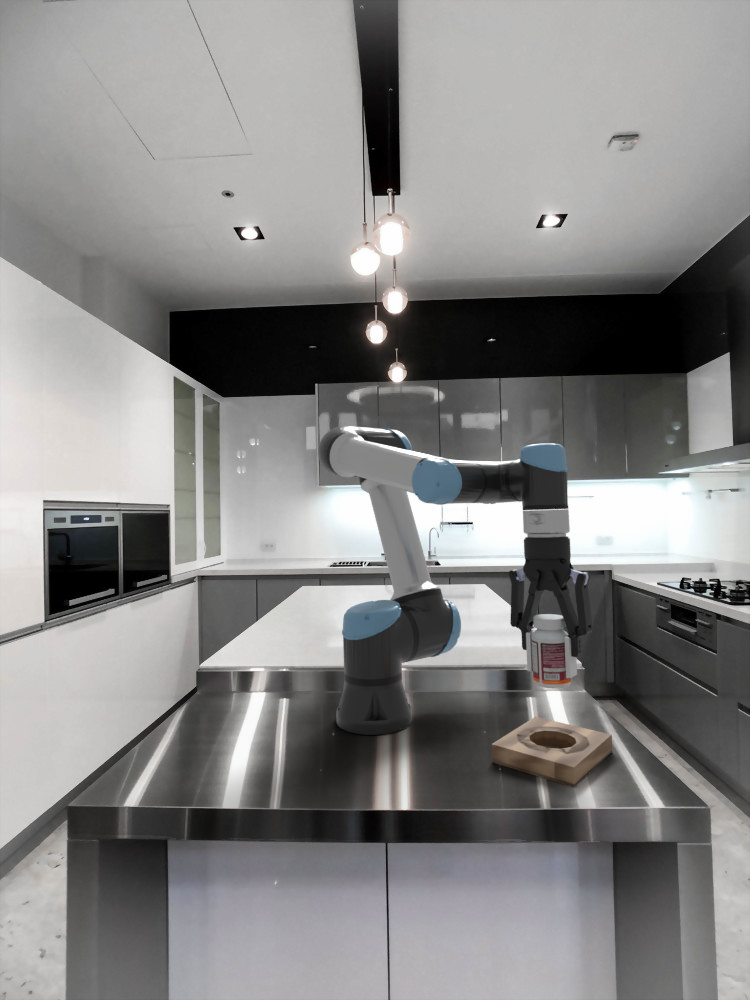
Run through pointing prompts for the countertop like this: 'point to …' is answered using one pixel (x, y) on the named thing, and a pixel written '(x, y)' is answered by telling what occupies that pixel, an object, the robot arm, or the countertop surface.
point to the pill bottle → (549, 651)
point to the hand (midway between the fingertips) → (551, 672)
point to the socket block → (553, 750)
